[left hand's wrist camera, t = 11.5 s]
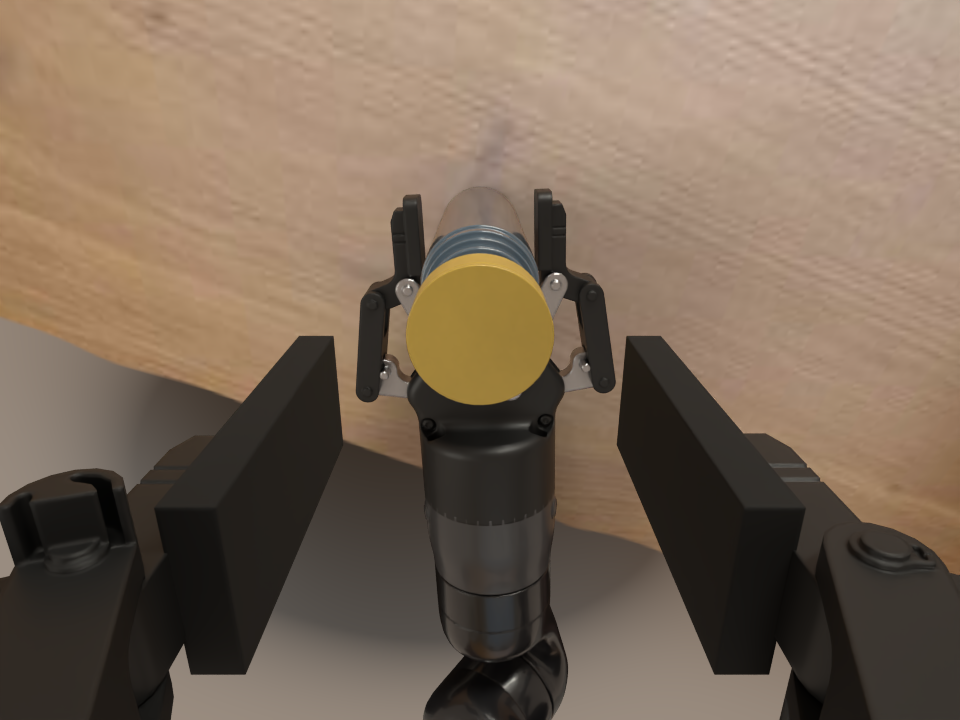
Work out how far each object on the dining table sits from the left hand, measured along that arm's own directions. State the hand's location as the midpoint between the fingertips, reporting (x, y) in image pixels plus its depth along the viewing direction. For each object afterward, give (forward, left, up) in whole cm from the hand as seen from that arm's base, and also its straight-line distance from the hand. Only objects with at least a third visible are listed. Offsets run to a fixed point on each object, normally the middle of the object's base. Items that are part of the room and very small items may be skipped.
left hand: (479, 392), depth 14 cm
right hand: (-1, +2, -18) cm, 18 cm away
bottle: (0, 0, -24) cm, 24 cm away
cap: (0, 0, -4) cm, 4 cm away
